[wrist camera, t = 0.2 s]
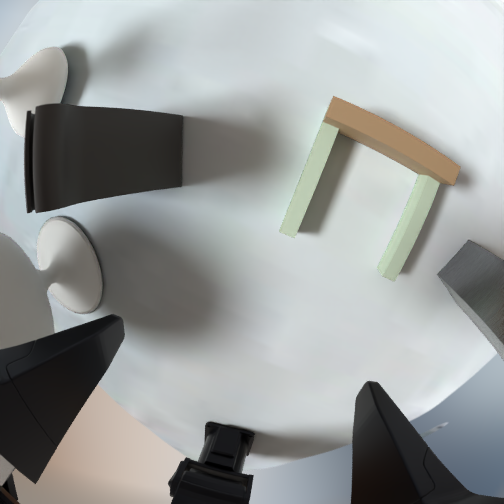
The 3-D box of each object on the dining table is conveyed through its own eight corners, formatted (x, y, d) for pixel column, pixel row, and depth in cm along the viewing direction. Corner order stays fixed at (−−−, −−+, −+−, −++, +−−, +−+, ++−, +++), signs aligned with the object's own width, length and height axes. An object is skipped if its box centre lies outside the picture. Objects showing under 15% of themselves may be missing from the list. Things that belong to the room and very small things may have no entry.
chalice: (64, 181, 24) (-53, 211, 10) (132, 287, 26) (29, 376, 12) (25, 250, 28) (-56, 290, 14) (79, 333, 30) (7, 399, 16)
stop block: (456, 303, 21) (522, 386, 9) (437, 274, 20) (513, 357, 9) (486, 271, 19) (563, 338, 7) (468, 239, 19) (559, 300, 7)
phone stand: (184, 116, 20) (83, 86, 9) (182, 187, 22) (81, 213, 11) (101, 128, 21) (-1, 125, 10) (101, 188, 23) (0, 214, 12)
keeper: (388, 273, 21) (403, 293, 17) (280, 226, 22) (276, 239, 18) (436, 165, 18) (460, 166, 14) (327, 108, 18) (333, 95, 14)
